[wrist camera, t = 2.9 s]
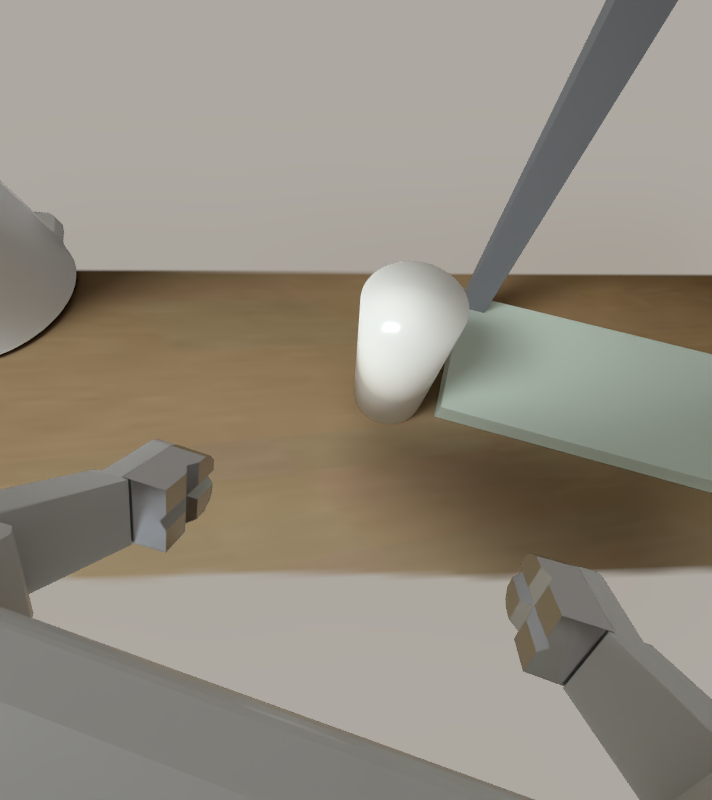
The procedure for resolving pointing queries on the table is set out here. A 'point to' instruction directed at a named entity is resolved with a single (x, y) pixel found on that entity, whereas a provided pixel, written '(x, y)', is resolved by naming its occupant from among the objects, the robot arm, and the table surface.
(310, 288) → the table surface
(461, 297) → the white cylinder
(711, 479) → the grey frame
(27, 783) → the robot arm
